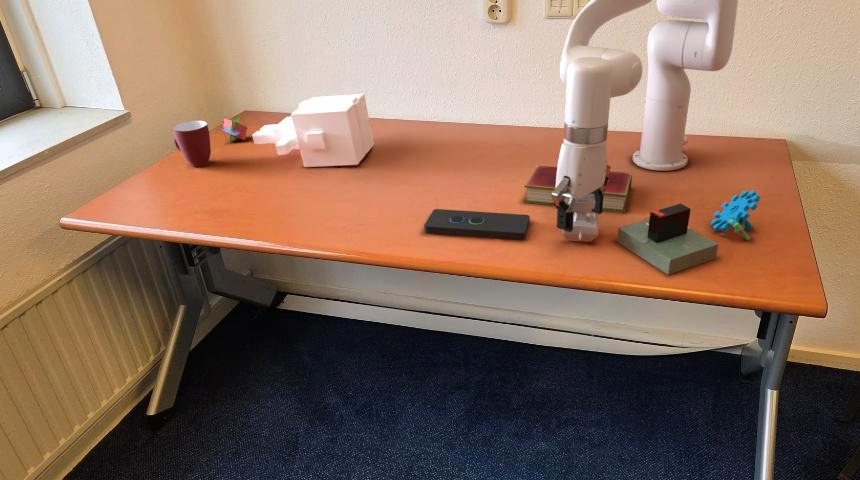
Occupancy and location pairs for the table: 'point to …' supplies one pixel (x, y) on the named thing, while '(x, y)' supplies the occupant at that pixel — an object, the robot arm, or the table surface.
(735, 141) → the table surface
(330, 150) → the white voxel figure
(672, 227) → the black rectangular block
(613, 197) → the hardcover book
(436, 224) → the smart home device
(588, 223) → the white square urn
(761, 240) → the table surface
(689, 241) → the green base plate
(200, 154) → the mug
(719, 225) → the blue splat shape
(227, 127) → the geometric puzzle
